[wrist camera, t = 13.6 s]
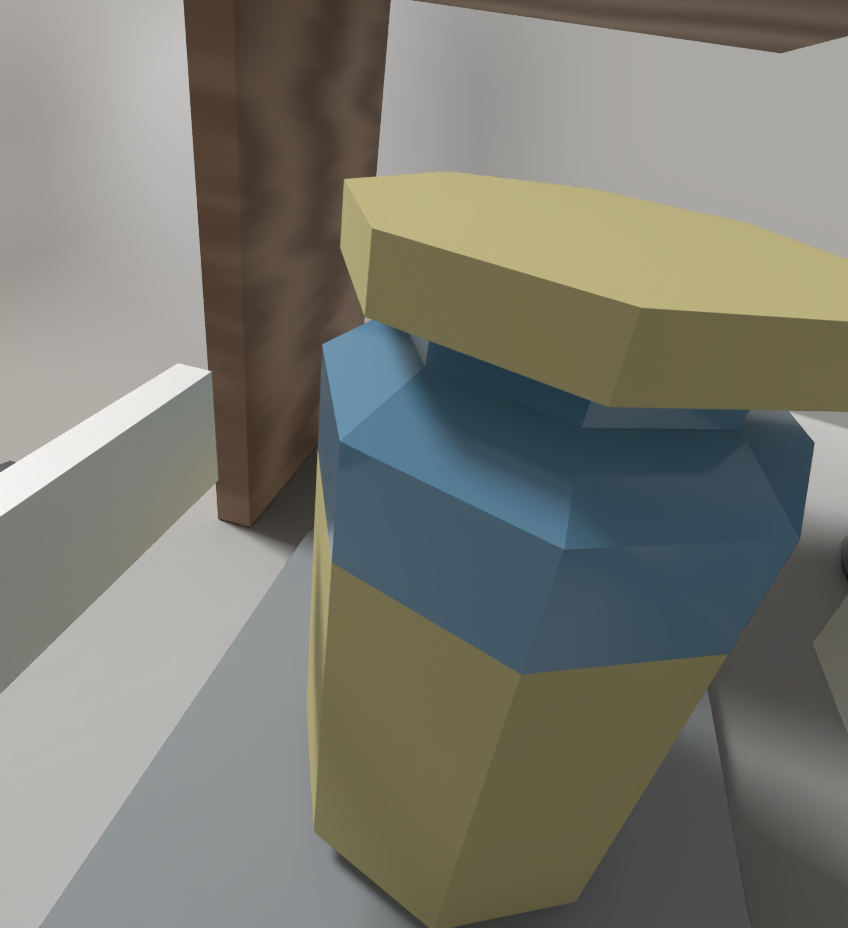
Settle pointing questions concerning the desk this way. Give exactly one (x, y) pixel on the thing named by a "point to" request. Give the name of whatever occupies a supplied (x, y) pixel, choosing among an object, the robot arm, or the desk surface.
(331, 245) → the shelf
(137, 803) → the mat
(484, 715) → the jar
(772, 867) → the desk surface
